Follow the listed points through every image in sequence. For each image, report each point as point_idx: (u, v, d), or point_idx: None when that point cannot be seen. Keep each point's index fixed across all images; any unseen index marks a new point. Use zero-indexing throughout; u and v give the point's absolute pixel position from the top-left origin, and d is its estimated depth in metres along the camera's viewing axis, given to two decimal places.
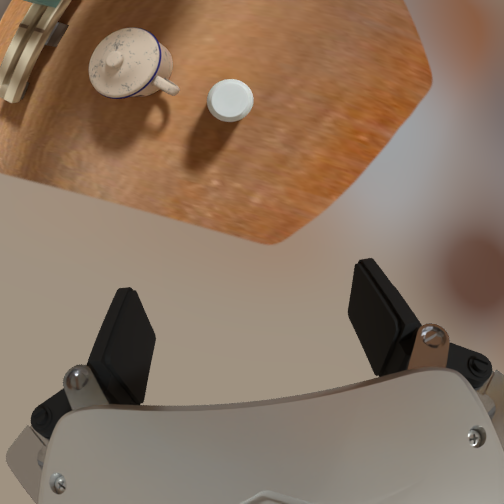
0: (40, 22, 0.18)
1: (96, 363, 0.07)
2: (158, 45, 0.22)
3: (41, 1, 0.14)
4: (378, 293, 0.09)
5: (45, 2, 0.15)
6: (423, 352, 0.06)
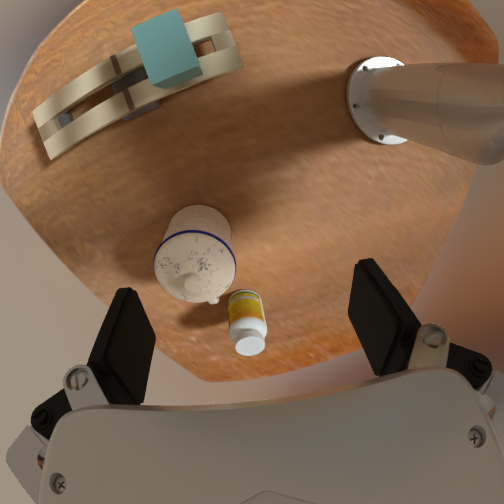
0: (136, 88, 0.22)
1: (96, 363, 0.07)
2: (233, 279, 0.31)
3: (158, 86, 0.19)
4: (378, 293, 0.09)
5: (161, 86, 0.20)
6: (423, 352, 0.06)
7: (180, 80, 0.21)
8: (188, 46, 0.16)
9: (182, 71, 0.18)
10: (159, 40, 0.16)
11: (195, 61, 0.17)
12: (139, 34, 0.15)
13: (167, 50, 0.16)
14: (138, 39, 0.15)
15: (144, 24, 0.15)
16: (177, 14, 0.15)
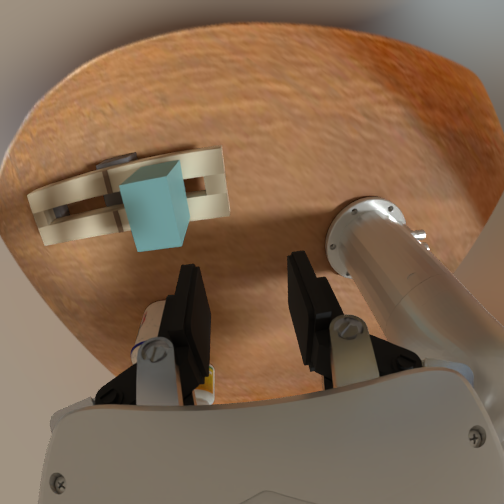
0: None
1: (175, 333, 0.08)
2: None
3: None
4: (299, 283, 0.10)
5: None
6: (344, 347, 0.07)
7: None
8: (174, 224, 0.21)
9: (166, 247, 0.22)
10: (147, 210, 0.20)
11: (179, 241, 0.22)
12: (127, 196, 0.20)
13: (154, 223, 0.21)
14: (126, 202, 0.20)
15: (132, 186, 0.19)
16: (166, 184, 0.20)
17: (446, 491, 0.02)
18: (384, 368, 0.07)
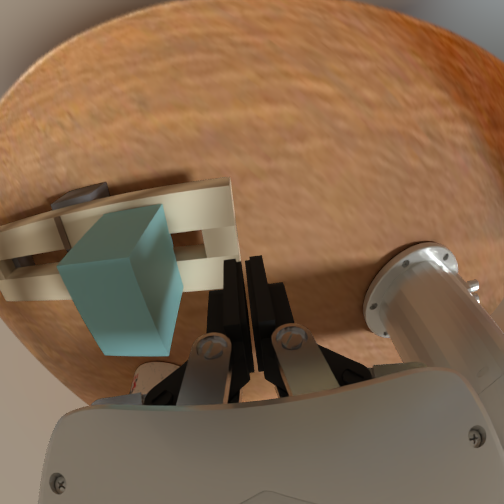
0: None
1: (231, 328, 0.08)
2: None
3: None
4: (249, 289, 0.10)
5: None
6: (292, 359, 0.07)
7: None
8: (153, 329, 0.12)
9: (145, 354, 0.13)
10: (106, 306, 0.11)
11: (164, 350, 0.13)
12: (72, 284, 0.11)
13: (121, 325, 0.12)
14: (72, 291, 0.11)
15: (76, 269, 0.10)
16: (130, 271, 0.10)
17: (446, 491, 0.02)
18: None
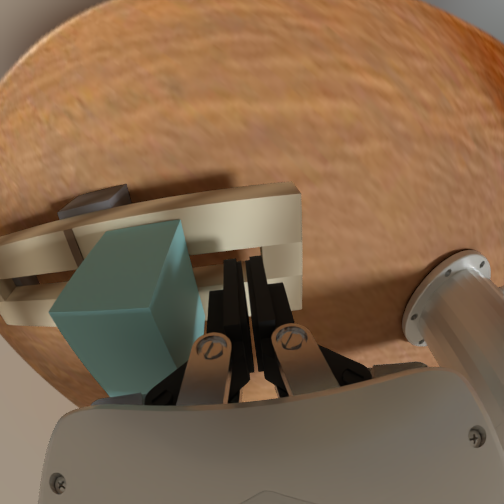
0: None
1: (231, 328, 0.08)
2: None
3: None
4: (249, 289, 0.10)
5: None
6: (292, 359, 0.07)
7: None
8: None
9: None
10: (118, 360, 0.08)
11: None
12: (71, 334, 0.08)
13: (139, 380, 0.09)
14: (72, 342, 0.08)
15: (75, 318, 0.07)
16: (152, 324, 0.08)
17: (446, 491, 0.02)
18: None
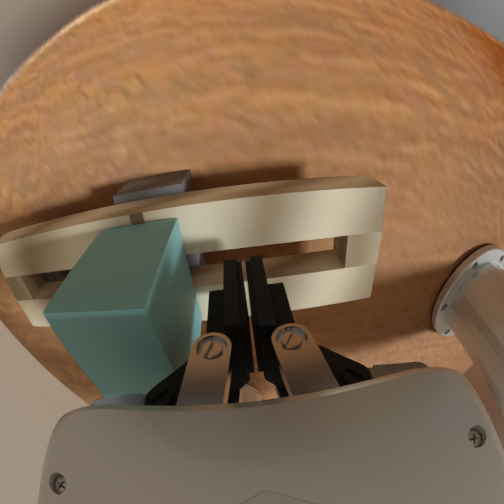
0: None
1: (231, 328, 0.08)
2: None
3: None
4: (249, 289, 0.10)
5: None
6: (292, 359, 0.07)
7: None
8: None
9: None
10: (114, 362, 0.08)
11: None
12: (66, 335, 0.07)
13: (134, 382, 0.09)
14: (67, 343, 0.08)
15: (70, 318, 0.07)
16: (148, 325, 0.07)
17: (446, 491, 0.02)
18: None
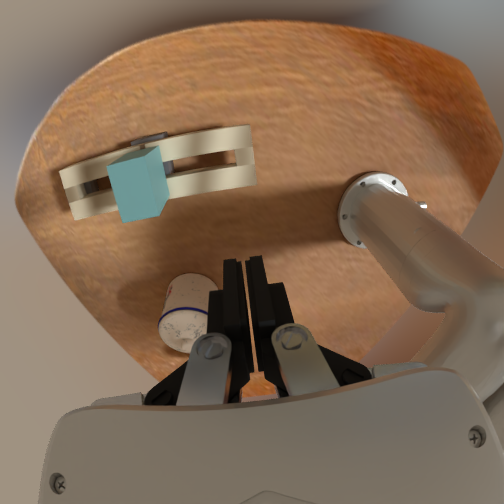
0: None
1: (231, 328, 0.08)
2: None
3: None
4: (249, 289, 0.10)
5: None
6: (292, 359, 0.07)
7: None
8: (152, 196, 0.24)
9: (146, 217, 0.25)
10: (129, 185, 0.23)
11: (157, 211, 0.25)
12: (113, 175, 0.23)
13: (135, 197, 0.24)
14: (112, 179, 0.23)
15: (117, 166, 0.22)
16: (144, 162, 0.23)
17: (446, 491, 0.02)
18: None
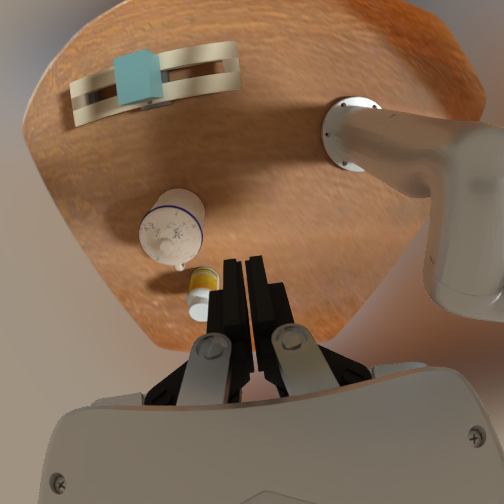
0: None
1: (231, 328, 0.08)
2: (198, 251, 0.38)
3: None
4: (249, 289, 0.10)
5: (128, 104, 0.27)
6: (292, 359, 0.07)
7: (144, 101, 0.29)
8: (148, 80, 0.24)
9: (140, 99, 0.25)
10: (130, 72, 0.23)
11: (150, 93, 0.25)
12: (118, 65, 0.22)
13: (133, 81, 0.24)
14: (116, 69, 0.23)
15: (122, 58, 0.22)
16: (145, 54, 0.22)
17: (446, 491, 0.02)
18: None
